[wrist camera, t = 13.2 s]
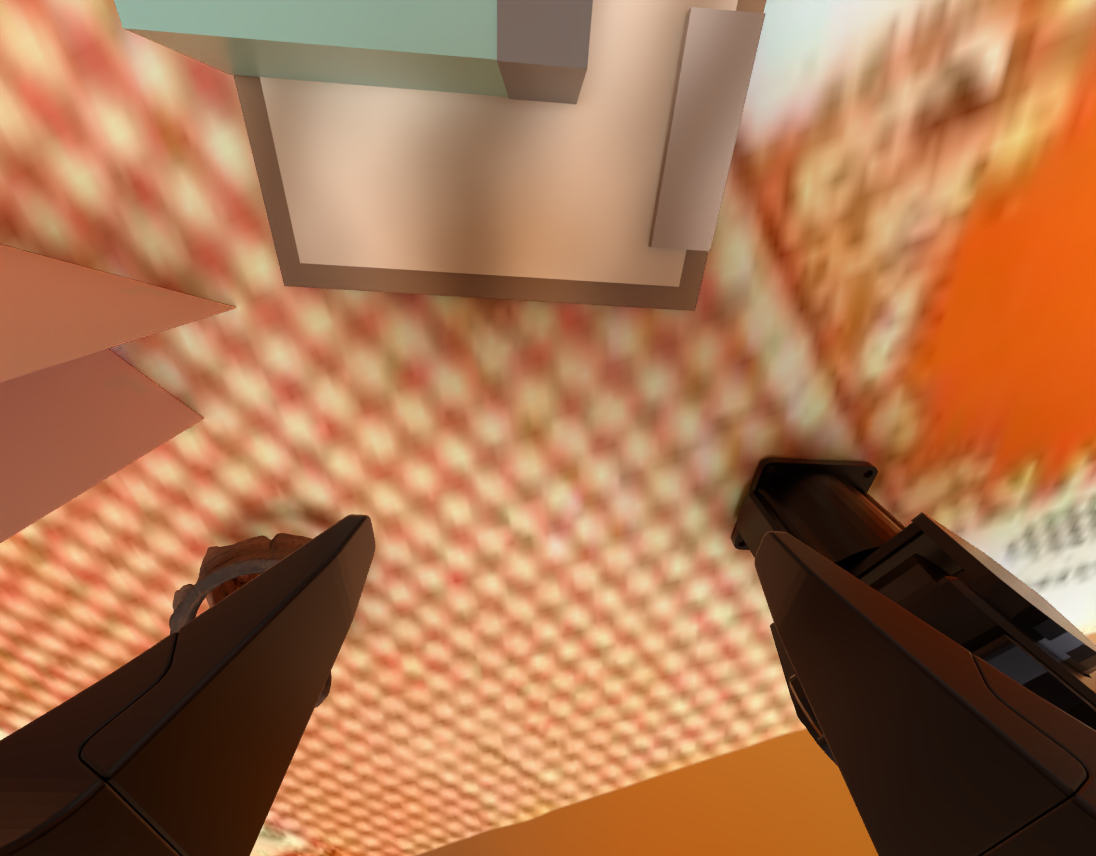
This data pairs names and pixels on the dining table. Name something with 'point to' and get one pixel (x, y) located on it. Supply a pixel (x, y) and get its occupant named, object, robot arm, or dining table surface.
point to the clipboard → (517, 170)
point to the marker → (383, 42)
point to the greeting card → (77, 380)
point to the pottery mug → (233, 576)
